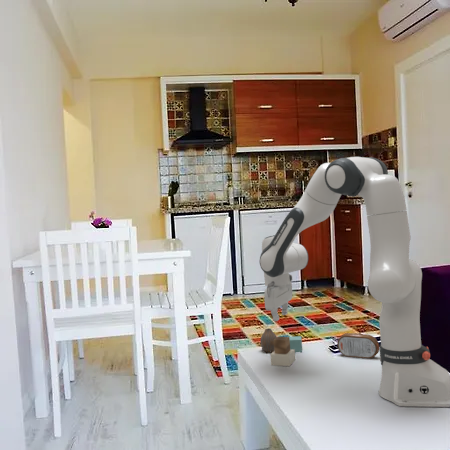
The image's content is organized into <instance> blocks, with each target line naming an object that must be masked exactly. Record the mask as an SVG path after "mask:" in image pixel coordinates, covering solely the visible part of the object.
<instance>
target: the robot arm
mask: <svg viewBox="0 0 450 450" xmlns="http://www.w3.org/2000/svg"><path fill="white" fill-rule="evenodd" d="M341 196H350V197H352V198H353V197H357V196H359V197H361V198H362V199H363V201H364V205H365V210H366V216H367V217H366V219H367V225H368V233H369V239H370V240H369V242H370V253H369V254H370V256H369V257H370V258H369V277H368V281H367V288H368V291H369V293H370V295H371V297H373V299H375V300H376V301H378V302H380V303H381V310H380V315H379V319H378V320H379V321H378V323H379V334H380V335H379V336H380V344H379V346H380V349H379V359H380V365H381V378H380V385H379V390H378V395H379V396H380V397H381V398H382V399H385V400H386V401H390V402H391V403H393V404H395V405H396V406H398V407H419V408H420V407H421V408H422V407H425V408H426V407H429V408H431V407H432V408H433V407H434V408H441V407H443V408H450V372H449V371H448V370H447V369H446V368H444V367H443V366H441V365H440V364H438V363H437V362H435V361H434V360H432V359H430V358H431V352H430V349H429V347H428V346H424V345H423V344H422V340H421V339H422V337H421V323H420V322H421V321H420V317H421V316H420V315H421V313H420V312H421V301H422V282H423V281H422V280H423V272H422V268H421V266H420V264H418V262H416V261H414V260H413V259H411V258H410V246H411V245H410V244H411V243H410V242H411V231H410V224H409V217H408V216H409V215H408V211H407V210H408V209H407V205H406V200H405V199H406V198H405V196H404V191H403V189H402V186H401V183H400V181H399V179H398V178H397V177H396V176H395V175H392V174H389V172H388V167H387V165H386V164H385V162H383V161H382V160H380V159H378V158H376V157H363V156H362V157H361V156H350V157H341V158H337V159H335V160H333V161H331V162H324V163H322V164H320V166H318V168H317V169H316V170H315V172H314V173H313V175H312V176H311V178H310V180H309V181H308V183H307V186H306V188H305V190H304V191H303V194H302V196H301V197H300V198H299V200H298V202H296V204H295V206H294V207H293V208H292V209H291V210H290V211H289V213H287V215H286V216H285V217H284V219H283V221H282V223H281V225H280V226H279V228H278V229H277V231H276V233H275V235H270V236H267V237H264V238H263V239H262V242H261V243H262V244H261V254H260V256H259V265H260V269H261V270H262V272H263V276H264V285H265V287H266V288H264V289H265V290H264V294H263V295H264V307H265V310H266V311H270V313H271V316H272V321H273V322H278V321H279V320H280V315H279V314H278V309H279V308H281V315H282V316H286V315H288V307H289V302H290V301H291V300H292V298H293V284H292V282H293V275H292V274H290V273H294V272H298V271H301V270H303V269H305V268H306V267H307V266H308V263H309V253H308V250H307V249H306V247H305V246H304V245H302V244H301V243H296V242H294V241H295V240H296V238H297V236H299V234H301V232H302V231H304V230H306V229H308V228H310V227H312V226H314V225H317V224H319V223H321V222H324V221H325V220H327V219H328V218H329V217H330V216H331V215H332V213H333V212H334V211H335V208H336V207H337V206H338V205H337V204H338V202H339V200H340V198H341Z"/></svg>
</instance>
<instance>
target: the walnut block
mask: <svg viewBox="0 0 450 450" xmlns="http://www.w3.org/2000/svg"><path fill="white" fill-rule="evenodd" d="M289 337H290V336H277V337H276V338H275V339H274V351H275V354H287V353H288V352H289V351H290V339H289Z"/></svg>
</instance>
